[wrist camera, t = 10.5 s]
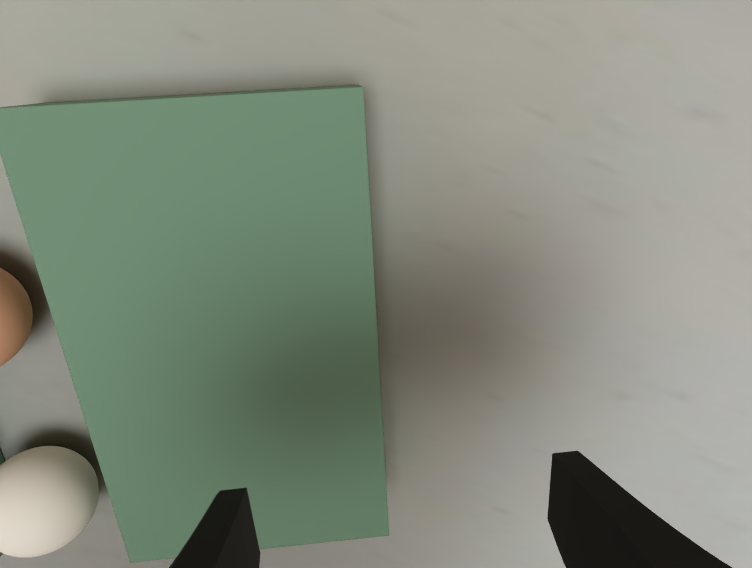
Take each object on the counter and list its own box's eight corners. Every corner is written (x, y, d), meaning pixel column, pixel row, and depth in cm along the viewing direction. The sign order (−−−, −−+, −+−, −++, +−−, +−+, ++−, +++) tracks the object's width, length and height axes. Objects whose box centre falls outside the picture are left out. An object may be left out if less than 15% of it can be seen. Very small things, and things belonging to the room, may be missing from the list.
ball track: (382, 481, 24) (389, 535, 21) (-50, 524, 23) (-102, 586, 20) (358, 84, 17) (363, 87, 15) (-244, 119, 16) (-361, 129, 14)
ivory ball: (63, 521, 23) (133, 511, 22) (-28, 586, 19) (51, 578, 18) (32, 437, 23) (102, 421, 21) (-67, 486, 19) (11, 471, 18)
